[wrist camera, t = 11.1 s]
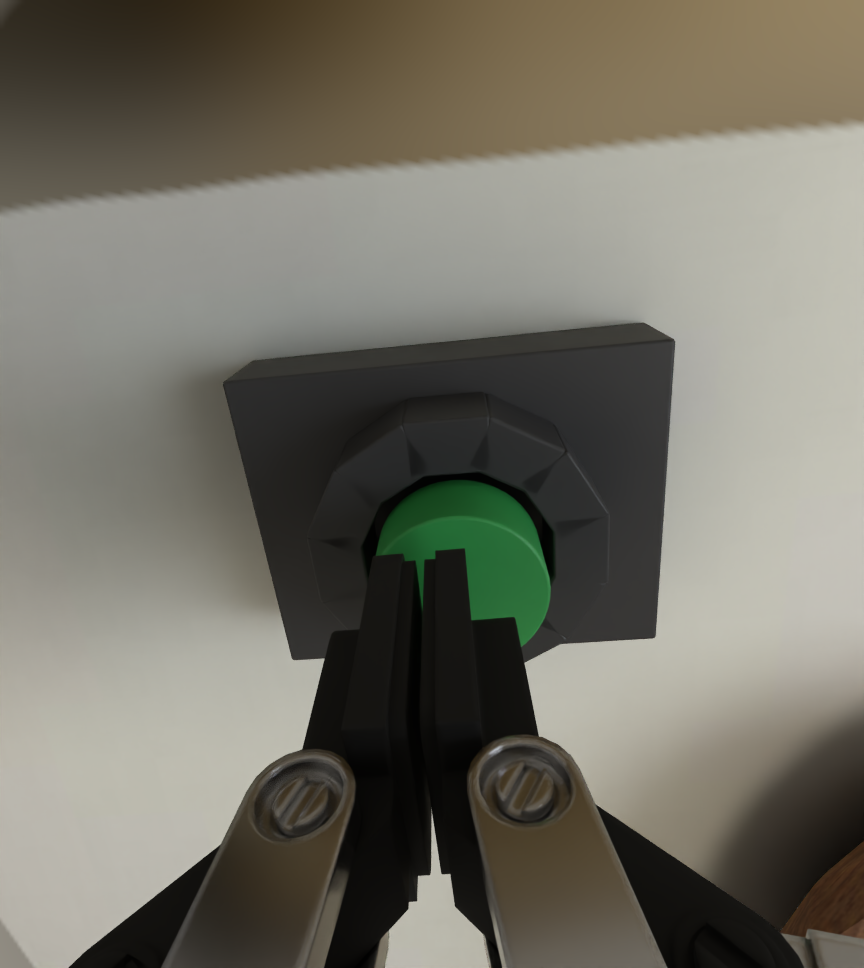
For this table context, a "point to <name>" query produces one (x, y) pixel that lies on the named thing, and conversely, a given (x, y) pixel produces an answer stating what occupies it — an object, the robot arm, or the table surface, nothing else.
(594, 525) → the control block
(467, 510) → the button
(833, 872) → the bowl
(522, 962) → the robot arm
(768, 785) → the table surface
